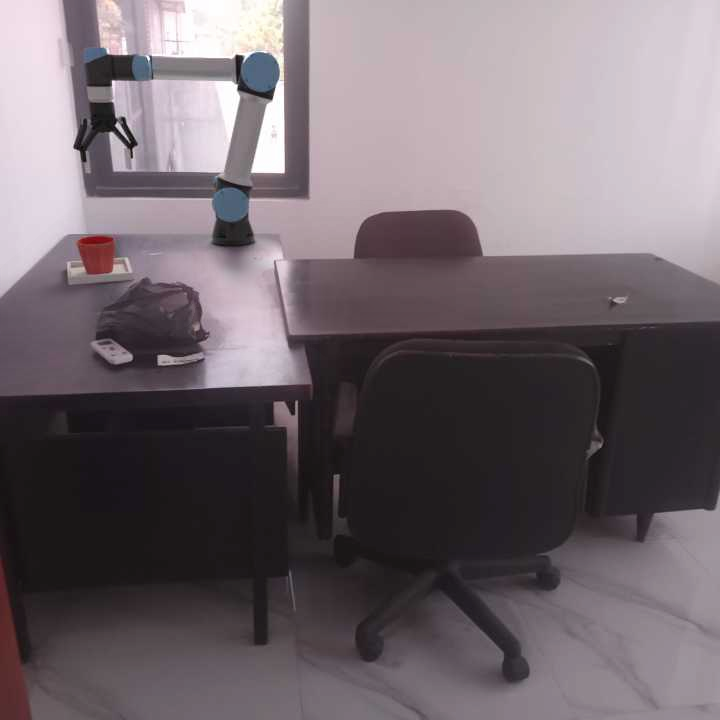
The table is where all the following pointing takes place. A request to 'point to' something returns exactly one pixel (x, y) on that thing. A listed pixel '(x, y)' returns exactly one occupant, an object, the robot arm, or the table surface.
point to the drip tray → (80, 275)
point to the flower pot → (97, 254)
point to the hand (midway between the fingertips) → (109, 171)
